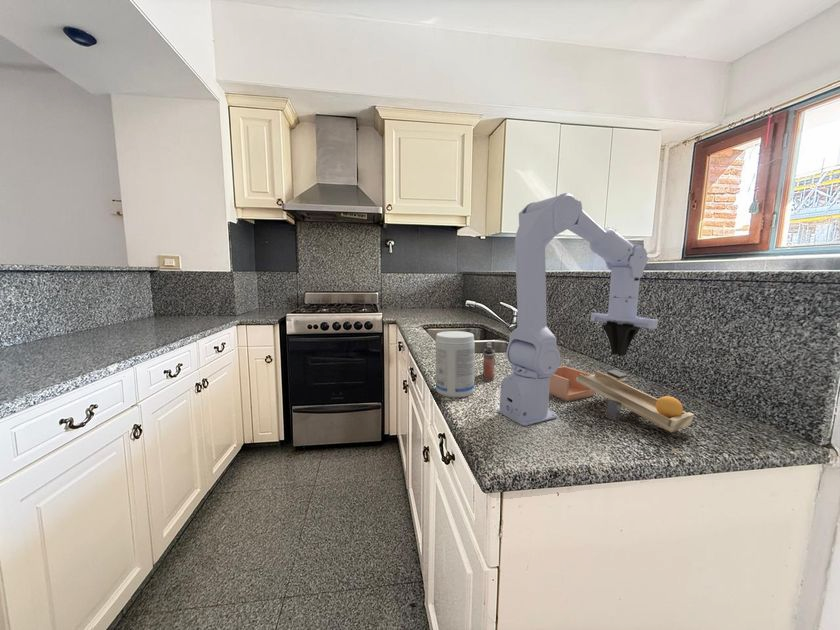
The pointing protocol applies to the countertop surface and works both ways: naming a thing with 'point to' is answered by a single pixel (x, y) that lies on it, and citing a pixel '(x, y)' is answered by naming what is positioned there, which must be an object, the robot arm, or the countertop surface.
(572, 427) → the countertop surface
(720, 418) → the countertop surface
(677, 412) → the ball
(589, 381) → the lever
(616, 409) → the pivot stand
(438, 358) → the supplement tub
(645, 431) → the countertop surface
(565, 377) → the tray
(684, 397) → the countertop surface
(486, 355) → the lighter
